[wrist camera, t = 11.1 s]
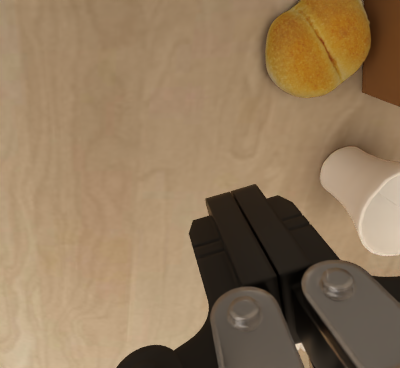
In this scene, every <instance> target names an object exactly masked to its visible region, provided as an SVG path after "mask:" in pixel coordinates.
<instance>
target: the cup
mask: <svg viewBox="0 0 400 368" xmlns="http://www.w3.org/2000/svg"><path fill="white" fill-rule="evenodd" d="M320 181H321V185H322V186H323V187H324V188H325V190H327V191H328V192H329V193H330V194H332V195H333V196H334V197H335V198H336V199H337V200H338V201H339V202H340V203H341V204H342V205H343V206H344V208H345V209H346V211H347V212H348V214H349V215H350V217H351V218H352V220H353V222H354V224H355V227H356V230H357V233H358V235H359V237H360V240H361V242H362V245H363V246H364V247H365V248H366V249H367V250H368V251H370V252H372V253H374V254H377V255H381V256H394V255H400V162H395V161H388V160H383V159H380V158H378V157H375V156H373V155H370V154H368V153H366V152H364V151H363V150H361V149H359V148H358V147H351V146H347V147H344V148H340V149H338V150H336V151H335V152H333V153H332V154H331V155H330V156H329V157H328V158H327V159H326V160H325V161H324V163H323V165H322V168H321V173H320Z"/></svg>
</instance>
